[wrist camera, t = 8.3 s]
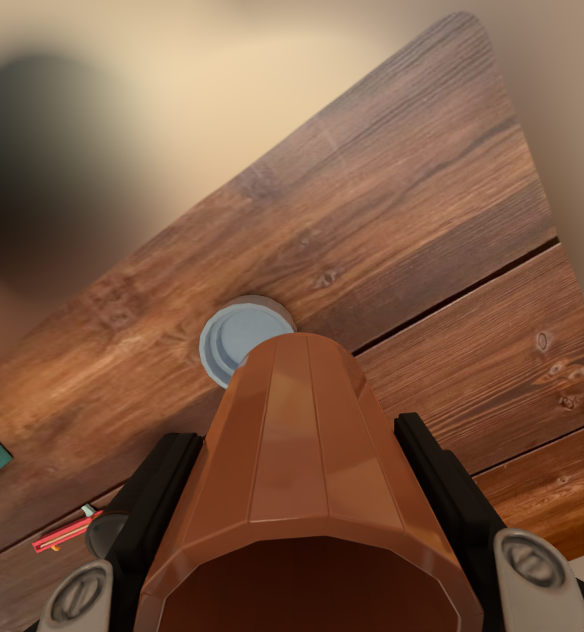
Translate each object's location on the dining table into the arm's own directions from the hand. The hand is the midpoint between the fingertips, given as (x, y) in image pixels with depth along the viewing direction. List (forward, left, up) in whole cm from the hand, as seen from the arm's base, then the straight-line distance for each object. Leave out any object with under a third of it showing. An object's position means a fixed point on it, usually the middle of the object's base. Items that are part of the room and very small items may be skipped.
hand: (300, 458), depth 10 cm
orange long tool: (+32, -35, -26) cm, 54 cm away
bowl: (+4, -6, -26) cm, 27 cm away
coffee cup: (0, 0, -4) cm, 4 cm away
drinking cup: (+20, -20, -26) cm, 39 cm away
